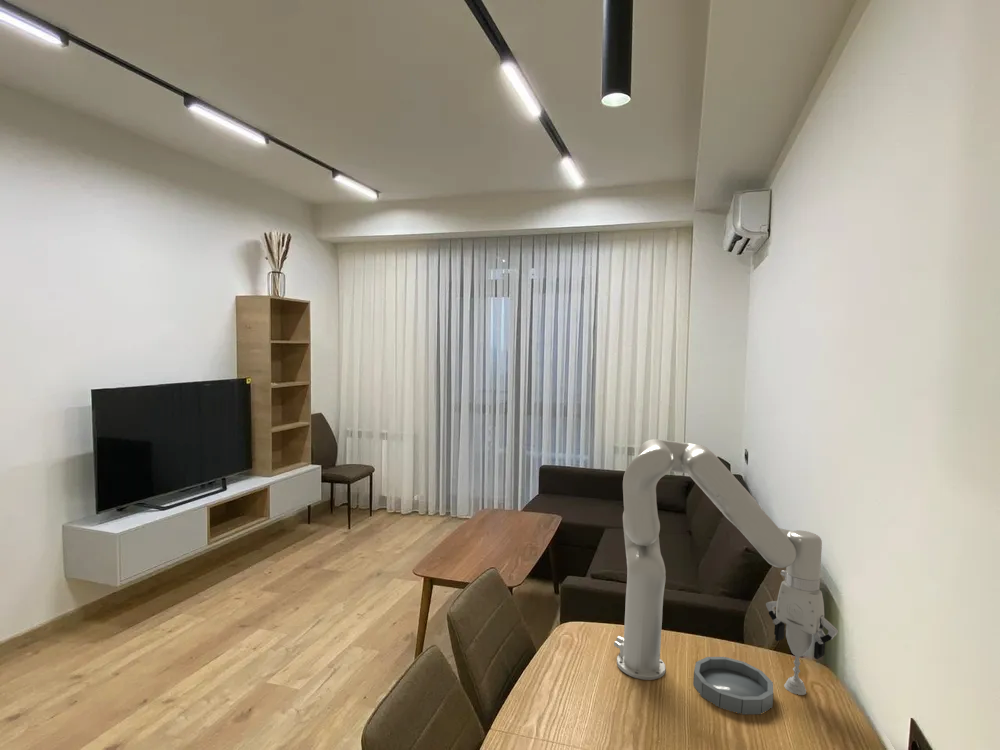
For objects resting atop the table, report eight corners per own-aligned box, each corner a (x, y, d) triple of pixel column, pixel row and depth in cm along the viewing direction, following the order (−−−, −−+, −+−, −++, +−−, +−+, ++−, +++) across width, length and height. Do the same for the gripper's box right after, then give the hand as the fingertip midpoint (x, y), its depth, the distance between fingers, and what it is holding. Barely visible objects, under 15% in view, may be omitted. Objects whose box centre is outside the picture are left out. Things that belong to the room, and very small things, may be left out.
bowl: (679, 682, 138) (679, 669, 138) (721, 662, 148) (721, 650, 148) (745, 724, 123) (746, 709, 123) (786, 698, 134) (787, 684, 134)
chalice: (815, 699, 134) (819, 628, 133) (785, 695, 135) (789, 624, 134) (804, 682, 141) (809, 614, 140) (776, 678, 142) (780, 610, 142)
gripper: (761, 572, 142) (757, 636, 143) (831, 598, 128) (827, 669, 128) (776, 567, 146) (772, 629, 147) (846, 591, 132) (842, 660, 133)
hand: (798, 648), depth 138 cm, fingers open, 9 cm apart
